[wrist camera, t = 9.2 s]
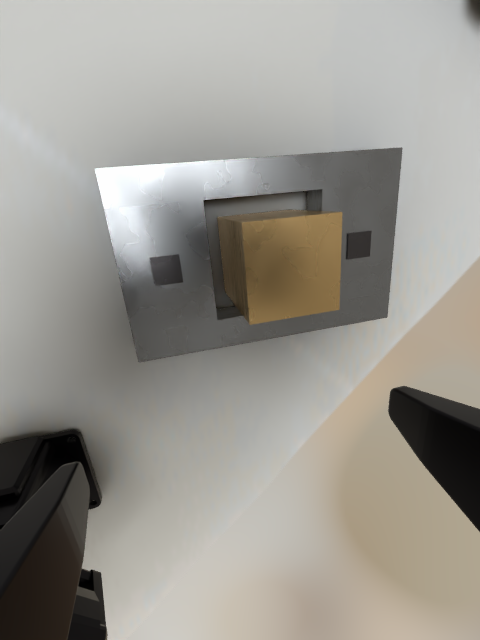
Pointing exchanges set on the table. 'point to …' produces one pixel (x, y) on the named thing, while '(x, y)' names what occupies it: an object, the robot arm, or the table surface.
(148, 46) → the table surface
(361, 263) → the grey slotted plate
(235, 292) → the wooden block
